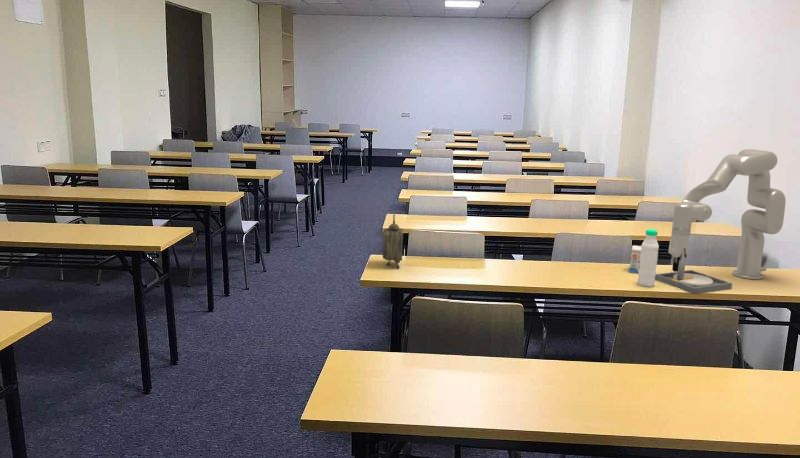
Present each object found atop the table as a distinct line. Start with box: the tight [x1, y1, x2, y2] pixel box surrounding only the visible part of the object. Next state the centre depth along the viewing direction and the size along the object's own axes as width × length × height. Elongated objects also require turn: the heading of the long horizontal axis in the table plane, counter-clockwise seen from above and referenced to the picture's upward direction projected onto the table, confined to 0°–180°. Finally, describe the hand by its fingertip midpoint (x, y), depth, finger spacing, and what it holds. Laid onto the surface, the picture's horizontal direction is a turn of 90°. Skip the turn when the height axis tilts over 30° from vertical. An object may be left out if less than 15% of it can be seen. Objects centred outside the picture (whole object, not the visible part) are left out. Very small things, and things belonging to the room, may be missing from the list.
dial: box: [673, 259, 713, 287], centre depth 269 cm, size 16×16×10 cm
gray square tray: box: [655, 269, 733, 295], centre depth 270 cm, size 22×22×3 cm
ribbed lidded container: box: [382, 214, 404, 269], centre depth 289 cm, size 14×9×25 cm, turn 179°
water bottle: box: [637, 228, 660, 288], centre depth 266 cm, size 7×7×25 cm
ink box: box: [628, 245, 642, 274], centre depth 288 cm, size 9×8×12 cm
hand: (676, 271), depth 272 cm, fingers closed
